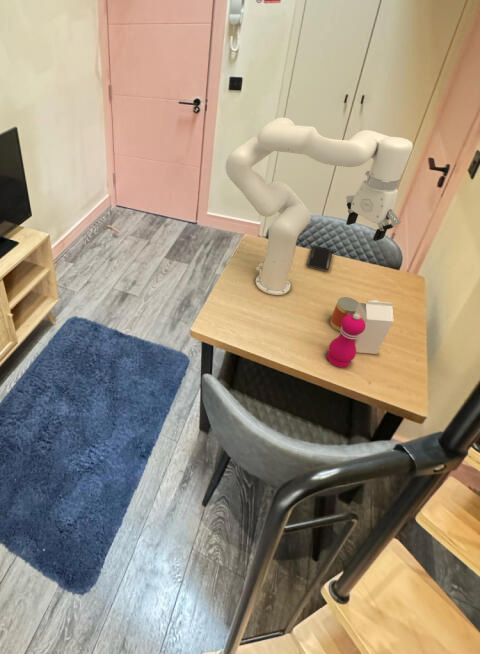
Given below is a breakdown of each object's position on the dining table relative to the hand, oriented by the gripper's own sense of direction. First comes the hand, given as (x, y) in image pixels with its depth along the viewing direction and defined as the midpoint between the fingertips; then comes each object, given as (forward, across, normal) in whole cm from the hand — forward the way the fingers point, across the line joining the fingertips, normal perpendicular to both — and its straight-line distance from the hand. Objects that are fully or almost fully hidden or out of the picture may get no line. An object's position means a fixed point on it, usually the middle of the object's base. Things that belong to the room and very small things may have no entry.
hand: (363, 231), depth 123 cm
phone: (+34, -25, +18) cm, 46 cm away
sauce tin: (+34, +6, -3) cm, 35 cm away
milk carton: (+34, +15, -4) cm, 38 cm away
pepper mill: (+34, +17, -15) cm, 41 cm away
